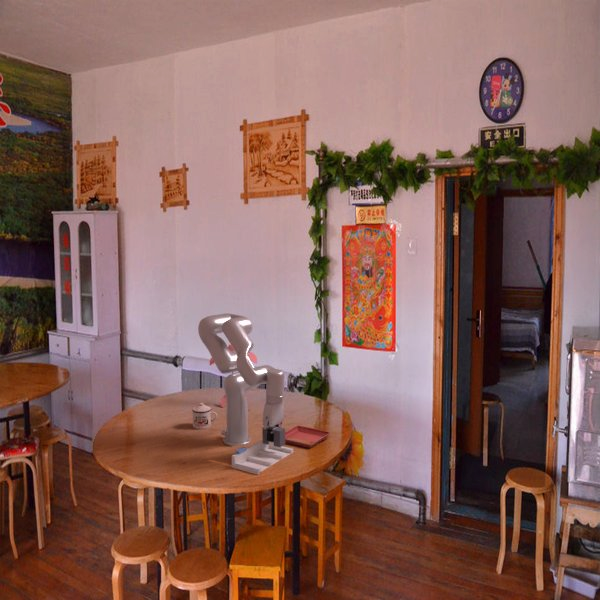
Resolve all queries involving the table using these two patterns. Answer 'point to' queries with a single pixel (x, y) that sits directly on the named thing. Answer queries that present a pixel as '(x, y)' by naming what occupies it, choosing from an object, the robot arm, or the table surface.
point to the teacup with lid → (202, 416)
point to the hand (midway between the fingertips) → (273, 439)
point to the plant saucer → (305, 436)
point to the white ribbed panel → (258, 457)
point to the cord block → (275, 437)
